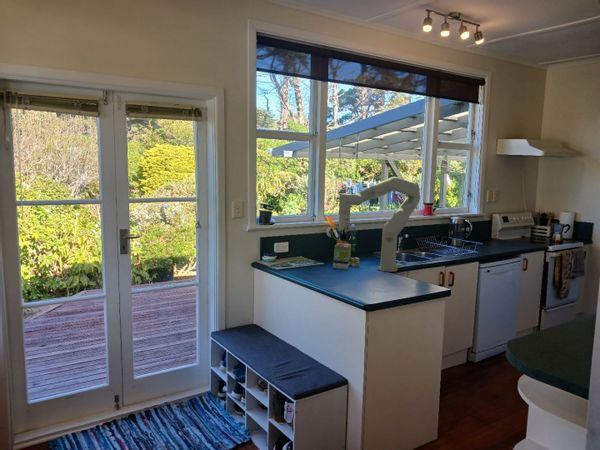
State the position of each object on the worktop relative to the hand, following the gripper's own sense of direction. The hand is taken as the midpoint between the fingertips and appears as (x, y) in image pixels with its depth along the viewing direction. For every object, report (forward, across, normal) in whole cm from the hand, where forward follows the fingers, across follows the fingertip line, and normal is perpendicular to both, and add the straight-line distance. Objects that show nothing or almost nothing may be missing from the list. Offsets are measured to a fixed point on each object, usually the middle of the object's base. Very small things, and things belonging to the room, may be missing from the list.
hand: (342, 239), depth 299 cm
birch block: (+18, +3, -10) cm, 21 cm away
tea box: (+18, 0, 0) cm, 18 cm away
